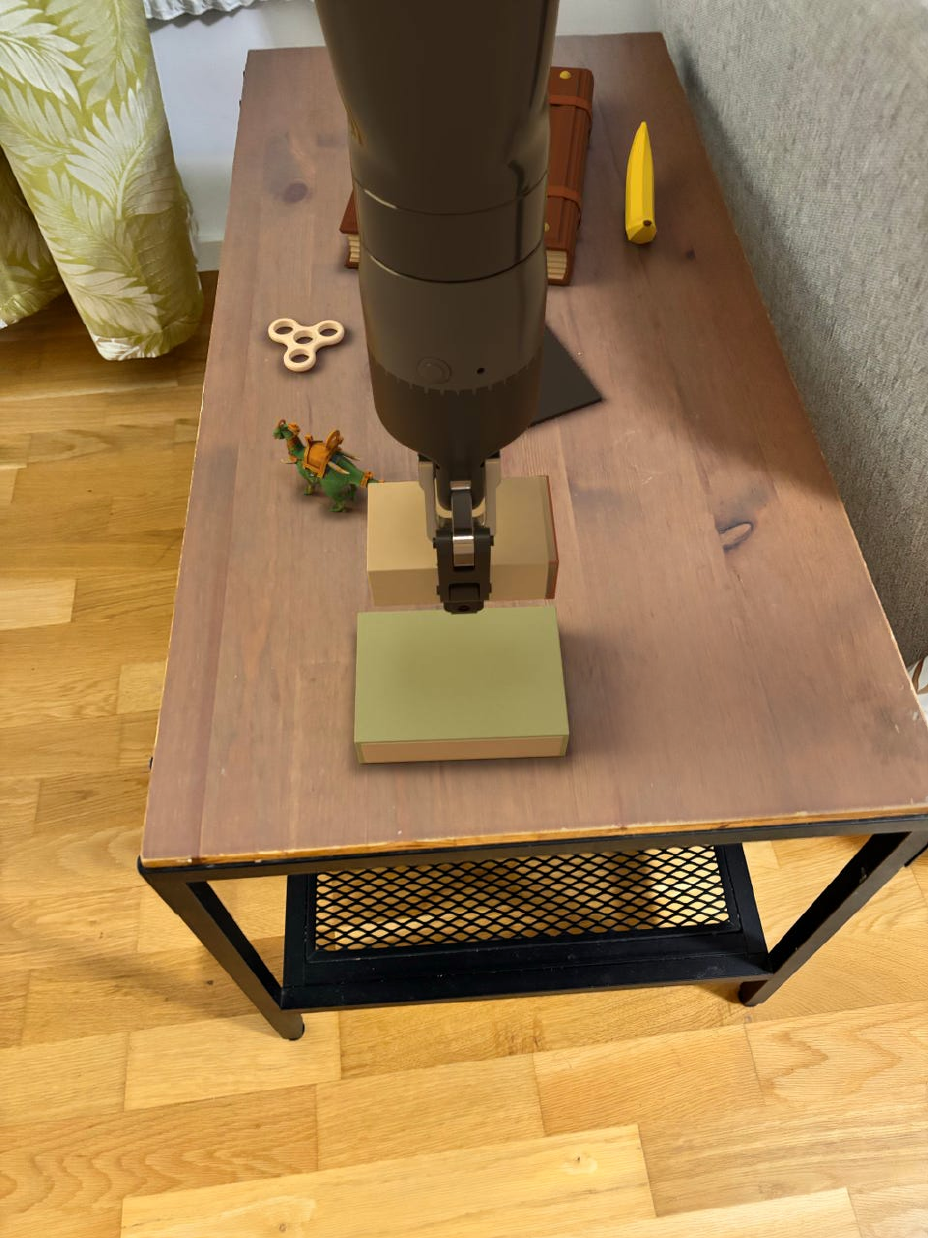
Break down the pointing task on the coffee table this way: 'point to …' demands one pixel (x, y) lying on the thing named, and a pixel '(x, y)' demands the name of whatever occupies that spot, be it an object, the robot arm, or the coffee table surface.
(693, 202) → the coffee table surface
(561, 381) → the felt pad
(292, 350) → the fidget spinner
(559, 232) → the book
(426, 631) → the bottom book
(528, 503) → the top book
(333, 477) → the figurine
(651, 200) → the banana
